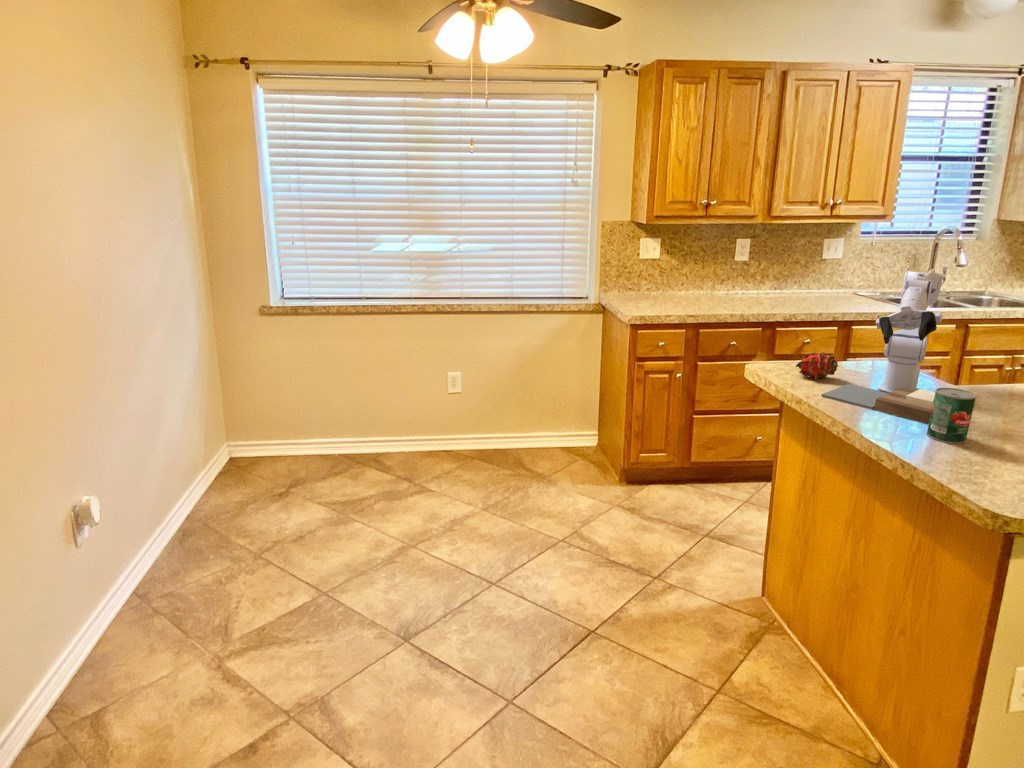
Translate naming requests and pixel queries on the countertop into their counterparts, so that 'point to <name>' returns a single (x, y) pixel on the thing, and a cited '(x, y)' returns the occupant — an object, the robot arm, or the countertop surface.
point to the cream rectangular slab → (921, 398)
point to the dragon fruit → (817, 365)
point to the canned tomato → (951, 415)
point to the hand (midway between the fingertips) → (902, 338)
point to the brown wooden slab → (902, 406)
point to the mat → (855, 395)
